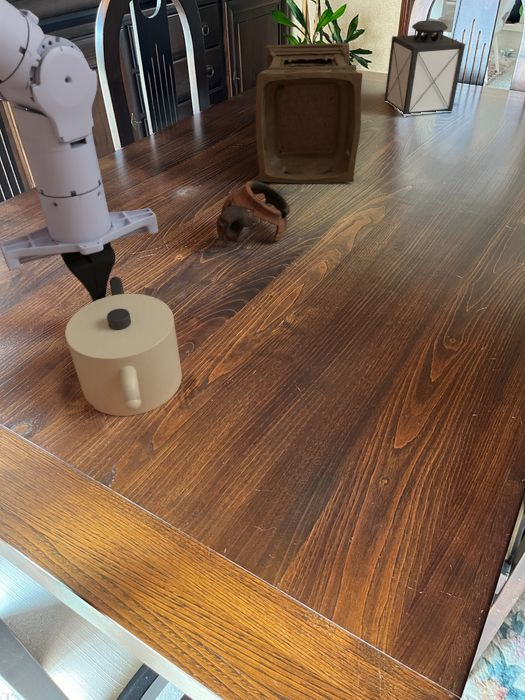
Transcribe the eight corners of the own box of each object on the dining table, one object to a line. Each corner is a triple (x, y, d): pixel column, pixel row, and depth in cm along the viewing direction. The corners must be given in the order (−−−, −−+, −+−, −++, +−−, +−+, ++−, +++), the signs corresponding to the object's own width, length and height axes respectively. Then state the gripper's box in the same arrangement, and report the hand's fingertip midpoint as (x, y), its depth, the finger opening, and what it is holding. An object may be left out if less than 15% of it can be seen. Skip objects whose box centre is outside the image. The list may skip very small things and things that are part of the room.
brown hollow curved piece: (231, 216, 85) (258, 171, 80) (277, 256, 84) (307, 212, 79) (187, 230, 75) (214, 180, 70) (238, 276, 74) (269, 227, 69)
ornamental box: (269, 129, 121) (256, 34, 110) (351, 118, 118) (346, 19, 107) (260, 193, 94) (241, 75, 82) (366, 181, 91) (362, 58, 80)
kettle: (194, 427, 49) (185, 360, 44) (84, 450, 48) (61, 383, 42) (169, 319, 62) (159, 257, 57) (81, 334, 60) (62, 271, 55)
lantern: (452, 113, 119) (484, -47, 101) (404, 117, 118) (427, -44, 99) (428, 98, 128) (454, -52, 110) (383, 102, 126) (402, -50, 108)
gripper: (-9, 221, 44) (38, 350, 53) (161, 183, 50) (178, 306, 58) (-21, 189, 49) (23, 313, 58) (135, 157, 55) (154, 275, 63)
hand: (100, 307), depth 59 cm, fingers closed
